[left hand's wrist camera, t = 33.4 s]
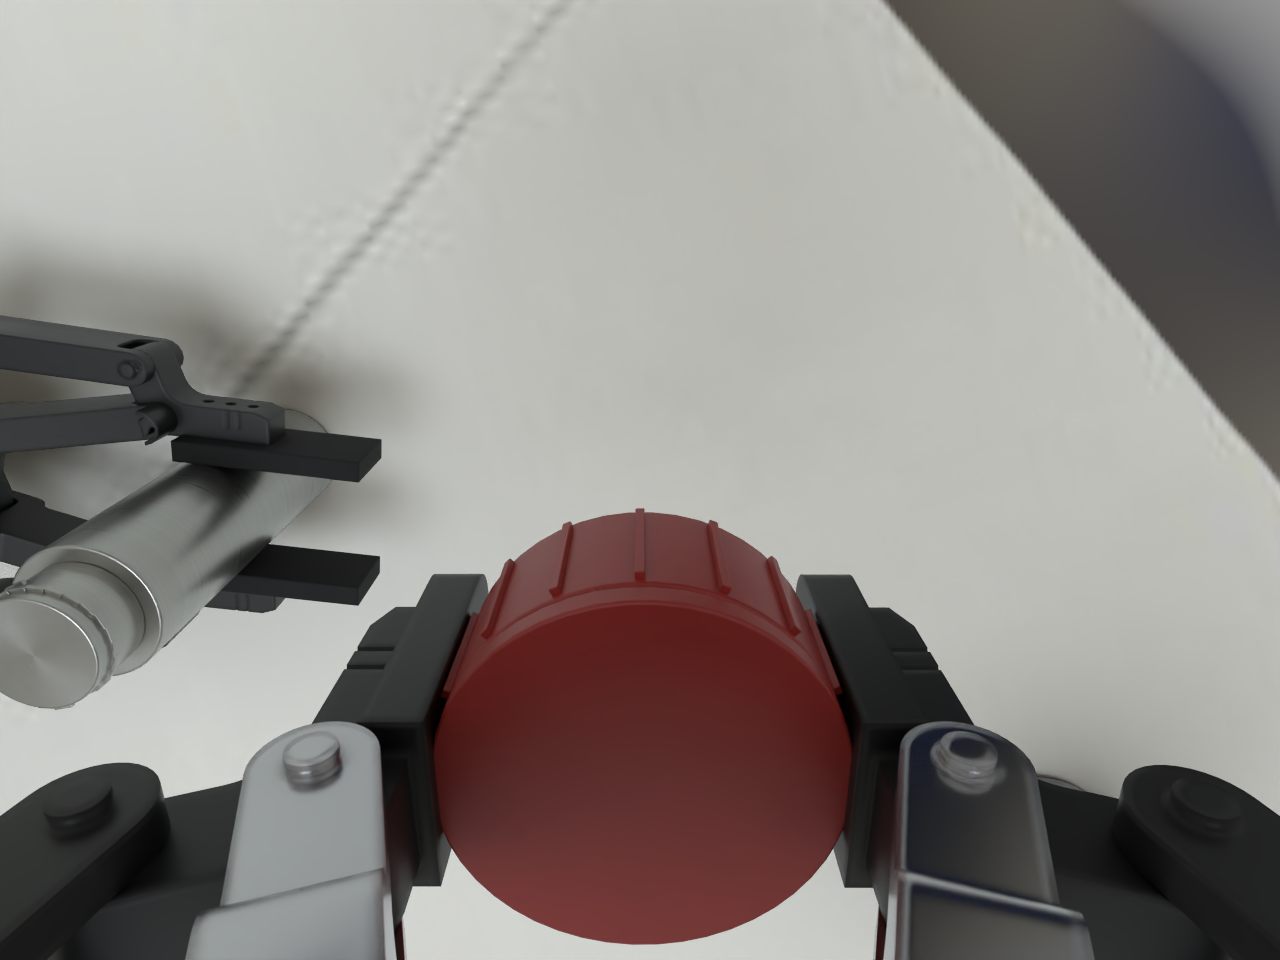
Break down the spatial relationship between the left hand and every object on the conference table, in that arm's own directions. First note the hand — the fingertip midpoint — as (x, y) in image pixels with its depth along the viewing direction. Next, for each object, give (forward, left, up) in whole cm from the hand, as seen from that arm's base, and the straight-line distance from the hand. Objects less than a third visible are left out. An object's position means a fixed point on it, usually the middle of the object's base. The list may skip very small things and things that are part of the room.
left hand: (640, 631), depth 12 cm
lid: (0, 0, +3) cm, 3 cm away
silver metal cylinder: (+16, +6, -24) cm, 29 cm away
